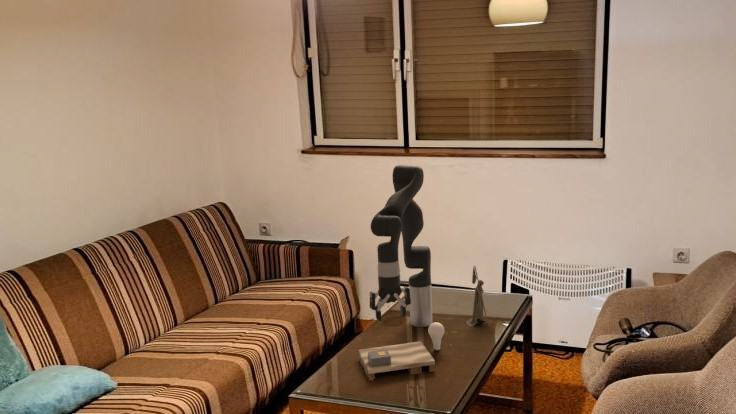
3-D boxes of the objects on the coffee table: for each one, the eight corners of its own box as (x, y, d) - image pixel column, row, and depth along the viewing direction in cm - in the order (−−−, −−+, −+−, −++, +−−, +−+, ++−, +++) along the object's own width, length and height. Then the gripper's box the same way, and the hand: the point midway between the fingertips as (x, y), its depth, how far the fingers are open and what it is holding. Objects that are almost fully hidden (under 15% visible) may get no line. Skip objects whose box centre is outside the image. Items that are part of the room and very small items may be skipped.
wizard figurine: (484, 328, 290) (484, 269, 284) (464, 326, 293) (463, 267, 287) (490, 319, 299) (489, 262, 294) (470, 317, 302) (469, 260, 297)
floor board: (359, 359, 266) (358, 349, 266) (421, 351, 271) (420, 341, 270) (369, 380, 249) (368, 370, 248) (435, 371, 254) (434, 360, 253)
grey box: (368, 359, 256) (367, 351, 256) (387, 357, 258) (386, 349, 257) (371, 366, 250) (371, 358, 250) (391, 364, 252) (390, 355, 251)
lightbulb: (446, 347, 273) (445, 320, 271) (443, 354, 267) (442, 326, 265) (431, 346, 275) (430, 319, 273) (427, 352, 269) (426, 325, 267)
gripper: (404, 268, 249) (406, 312, 252) (365, 273, 245) (368, 318, 247) (412, 273, 242) (414, 318, 245) (372, 278, 237) (375, 325, 240)
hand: (391, 318), depth 246 cm, fingers open, 8 cm apart
